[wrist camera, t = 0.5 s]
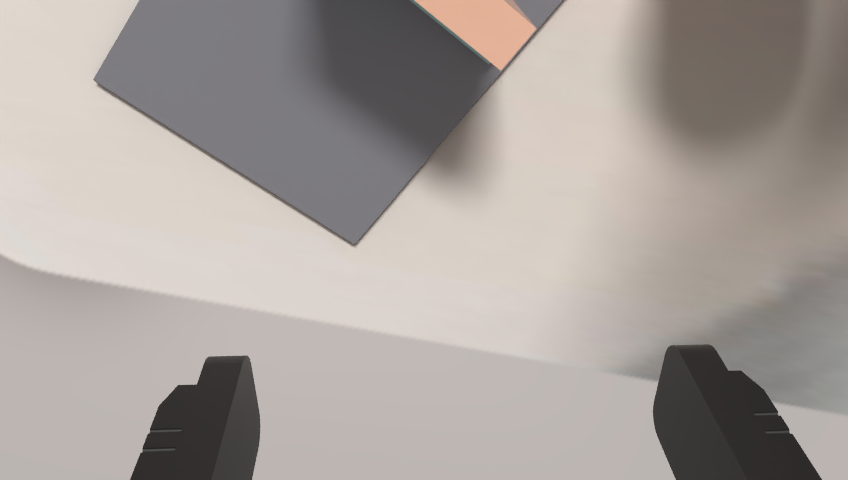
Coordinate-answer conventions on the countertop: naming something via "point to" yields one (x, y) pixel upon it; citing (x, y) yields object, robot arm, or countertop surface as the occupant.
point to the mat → (305, 92)
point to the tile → (483, 26)
